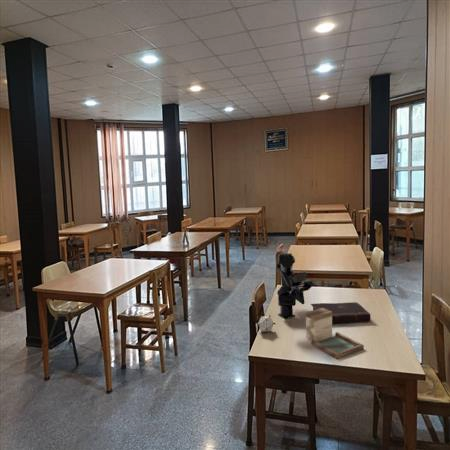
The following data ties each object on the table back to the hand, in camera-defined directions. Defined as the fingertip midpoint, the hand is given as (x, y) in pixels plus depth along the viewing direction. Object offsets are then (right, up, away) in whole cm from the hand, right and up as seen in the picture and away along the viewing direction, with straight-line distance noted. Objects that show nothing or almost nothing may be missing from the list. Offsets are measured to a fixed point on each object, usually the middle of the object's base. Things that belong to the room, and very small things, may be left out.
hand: (303, 303), depth 176 cm
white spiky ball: (-18, -14, 0) cm, 23 cm away
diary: (+22, -10, +15) cm, 28 cm away
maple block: (+5, -14, -7) cm, 16 cm away
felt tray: (+11, -15, -17) cm, 25 cm away
